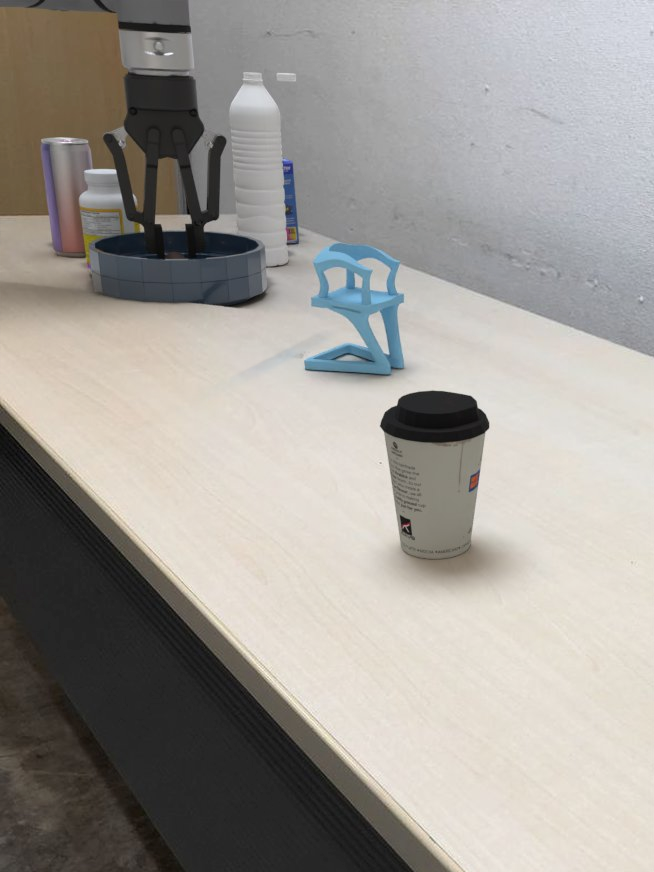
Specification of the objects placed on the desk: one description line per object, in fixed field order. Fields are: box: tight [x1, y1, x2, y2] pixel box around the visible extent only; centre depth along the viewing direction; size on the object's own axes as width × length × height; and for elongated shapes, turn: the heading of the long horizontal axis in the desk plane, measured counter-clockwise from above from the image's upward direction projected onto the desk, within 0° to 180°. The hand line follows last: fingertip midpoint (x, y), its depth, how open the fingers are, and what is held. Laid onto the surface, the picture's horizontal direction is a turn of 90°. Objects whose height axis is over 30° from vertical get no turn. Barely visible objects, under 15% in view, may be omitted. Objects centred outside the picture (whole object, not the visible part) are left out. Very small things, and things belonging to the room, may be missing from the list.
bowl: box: [88, 229, 268, 307], centre depth 135 cm, size 19×19×6 cm
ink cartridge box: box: [282, 157, 300, 245], centre depth 169 cm, size 10×6×14 cm, turn 40°
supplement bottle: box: [79, 168, 141, 276], centre depth 141 cm, size 7×7×13 cm
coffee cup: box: [379, 390, 490, 560], centre depth 73 cm, size 7×7×10 cm
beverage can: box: [40, 137, 94, 258], centre depth 151 cm, size 6×6×15 cm
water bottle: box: [228, 71, 297, 268], centre depth 151 cm, size 9×6×25 cm
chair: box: [303, 242, 405, 375], centre depth 110 cm, size 8×8×12 cm
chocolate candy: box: [165, 252, 186, 259], centre depth 134 cm, size 13×3×3 cm, turn 25°
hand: (178, 280), depth 134 cm, fingers closed on chocolate candy, 3 cm apart
